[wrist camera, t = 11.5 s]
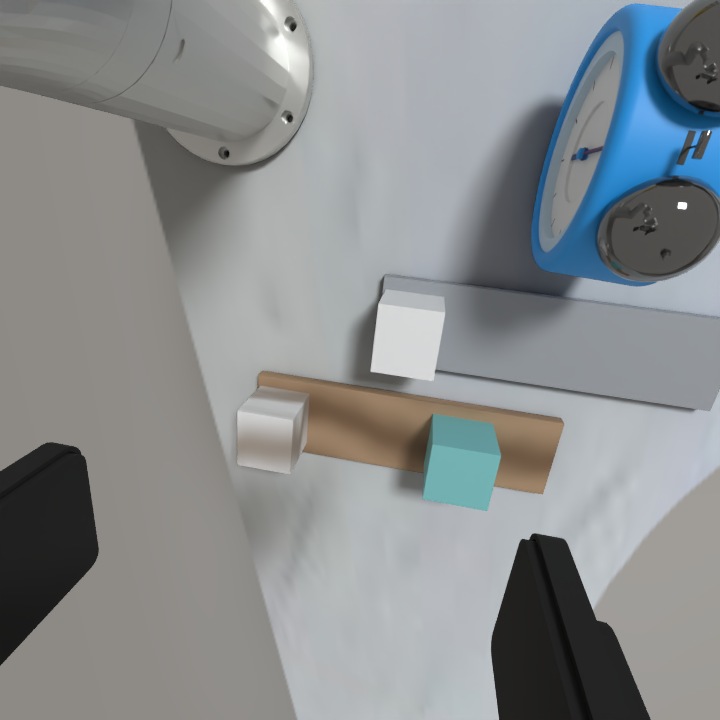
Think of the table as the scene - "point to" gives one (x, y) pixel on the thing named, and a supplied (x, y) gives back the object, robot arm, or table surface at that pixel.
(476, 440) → the teal cube
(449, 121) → the table surface
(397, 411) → the walnut strip
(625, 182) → the alarm clock
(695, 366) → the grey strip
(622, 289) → the table surface
